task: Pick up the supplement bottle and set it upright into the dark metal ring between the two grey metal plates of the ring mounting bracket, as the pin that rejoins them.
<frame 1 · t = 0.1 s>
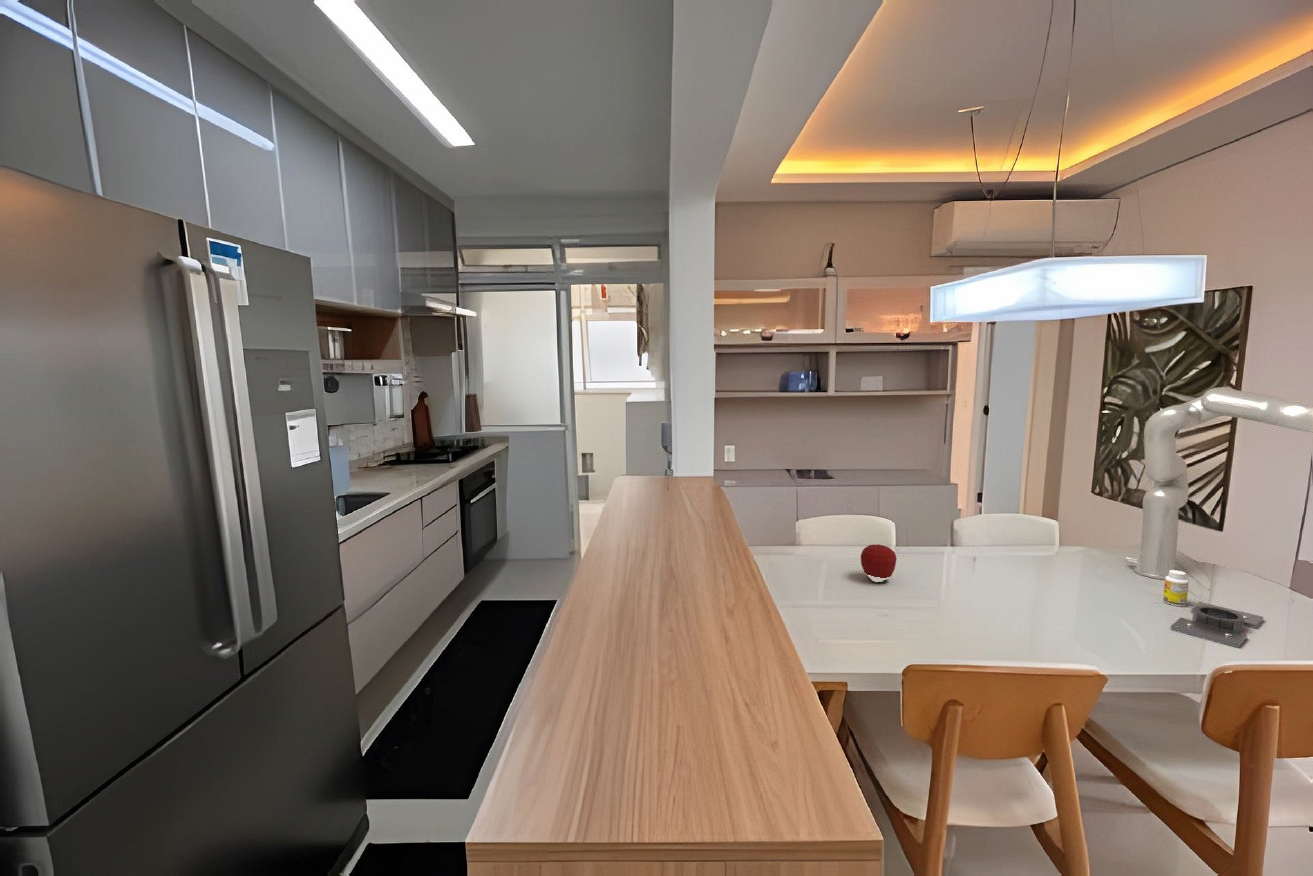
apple: (877, 581, 210), on the table
ring mounting bracket: (1217, 625, 171), on the table
supplement bottle: (1174, 604, 187), on the table
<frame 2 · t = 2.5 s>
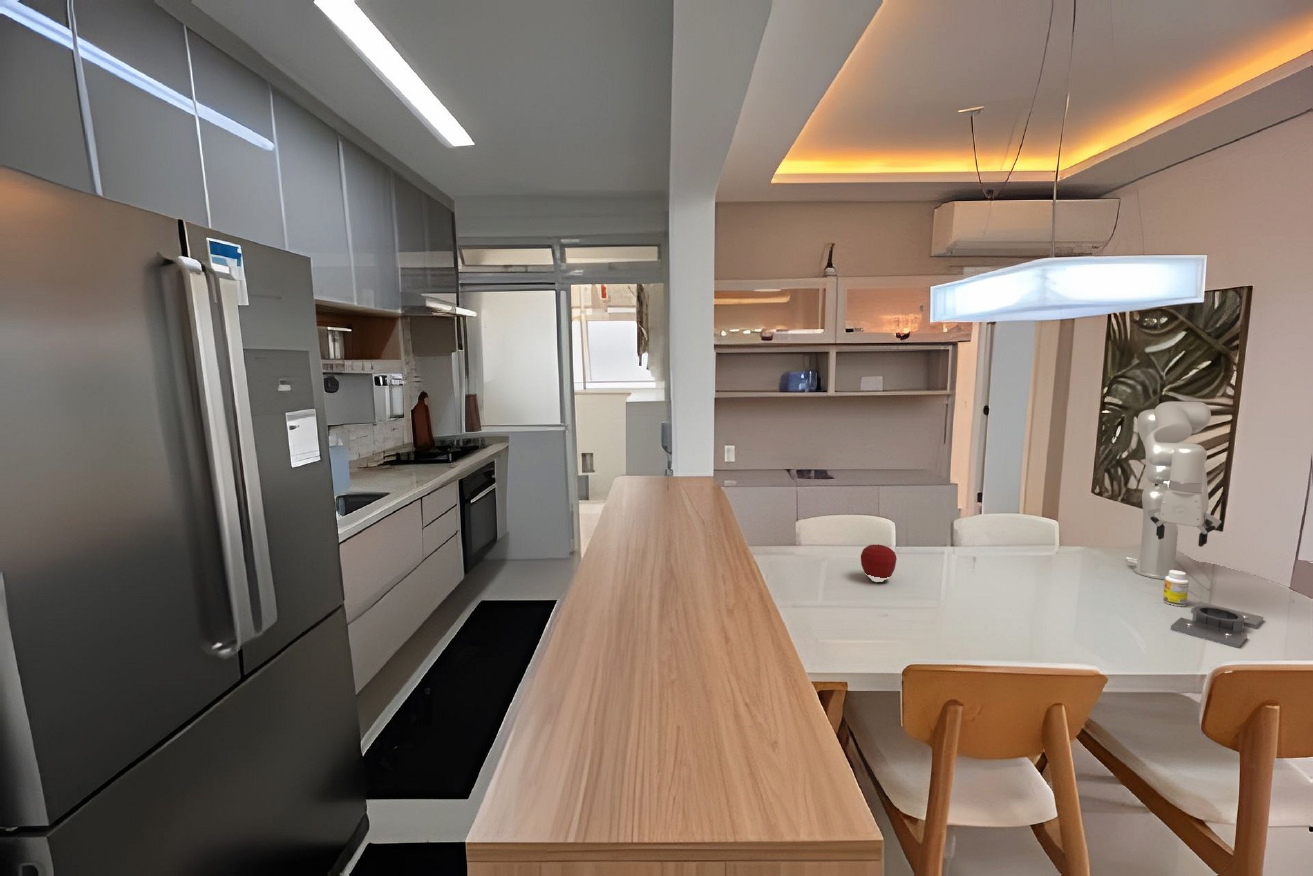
hand: (1180, 542, 184), 20 cm above the table, tool pointing down, fingers open, 9 cm apart
nothing on the table moved.
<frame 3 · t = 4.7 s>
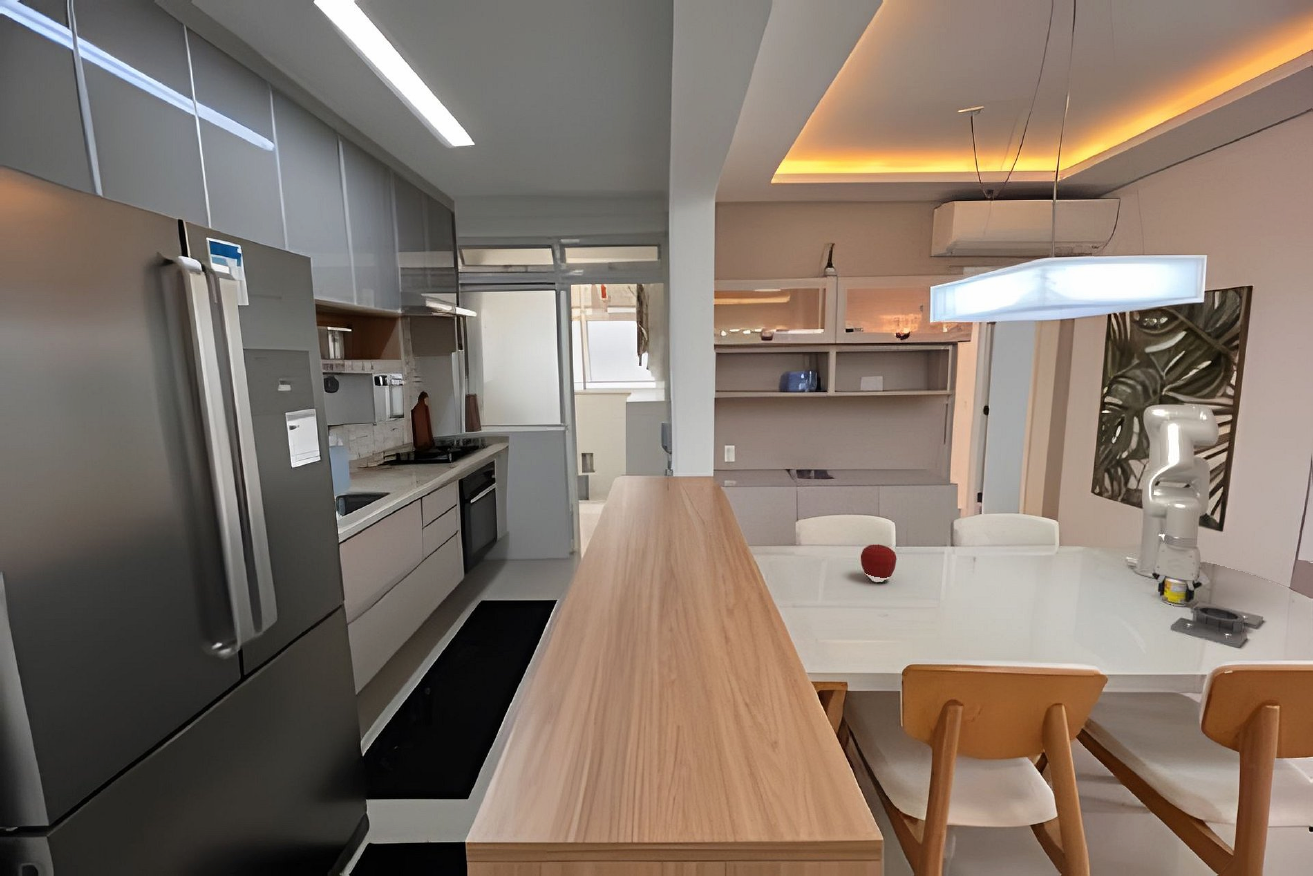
hand: (1175, 597, 187), 2 cm above the table, tool pointing down, fingers closed on supplement bottle, 5 cm apart
supplement bottle: (1174, 604, 187), on the table, touching gripper
everything else where it was.
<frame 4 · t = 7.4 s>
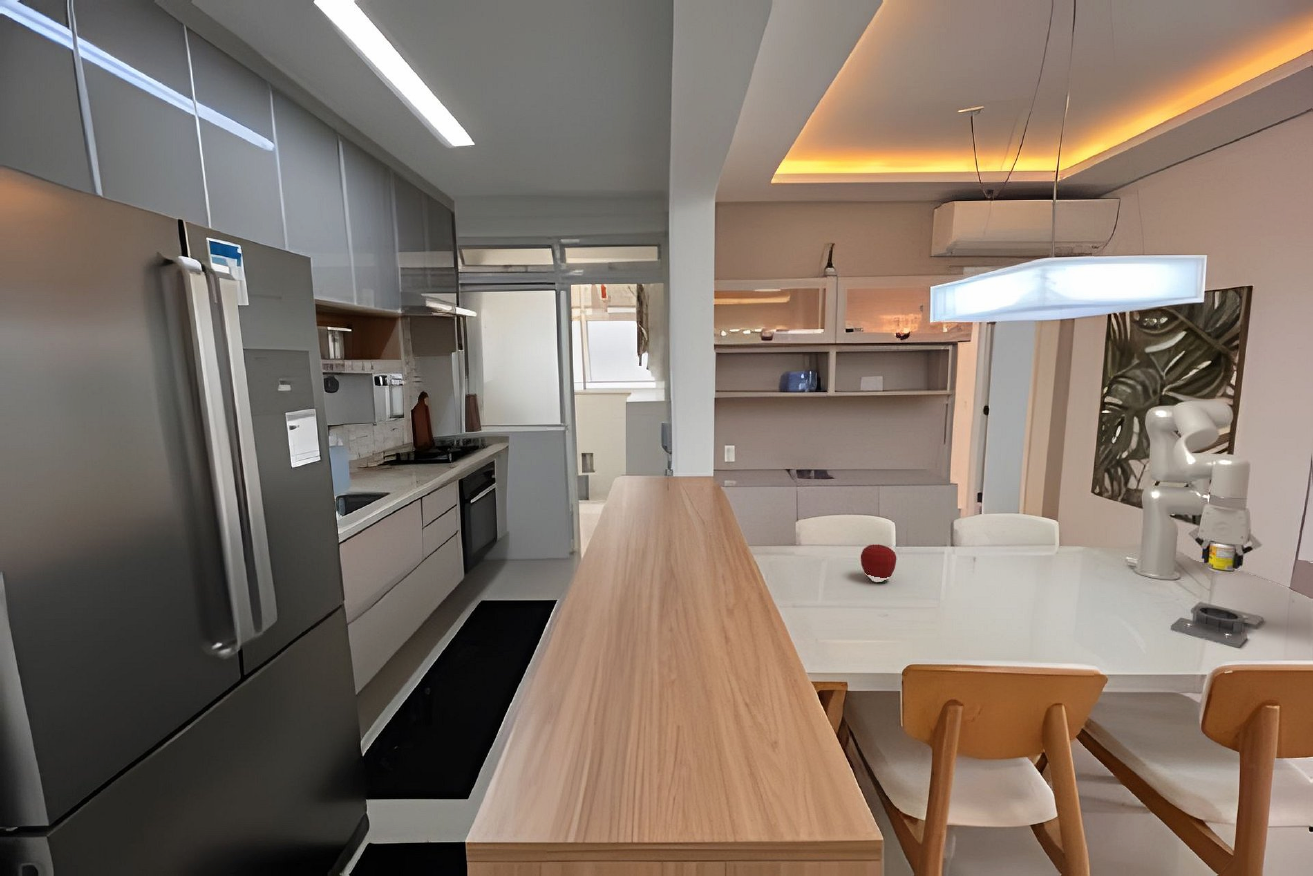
hand: (1221, 564, 170), 18 cm above the table, tool pointing down, fingers closed on supplement bottle, 5 cm apart
supplement bottle: (1220, 571, 170), point 16 cm above the table, touching gripper
everything else where it was.
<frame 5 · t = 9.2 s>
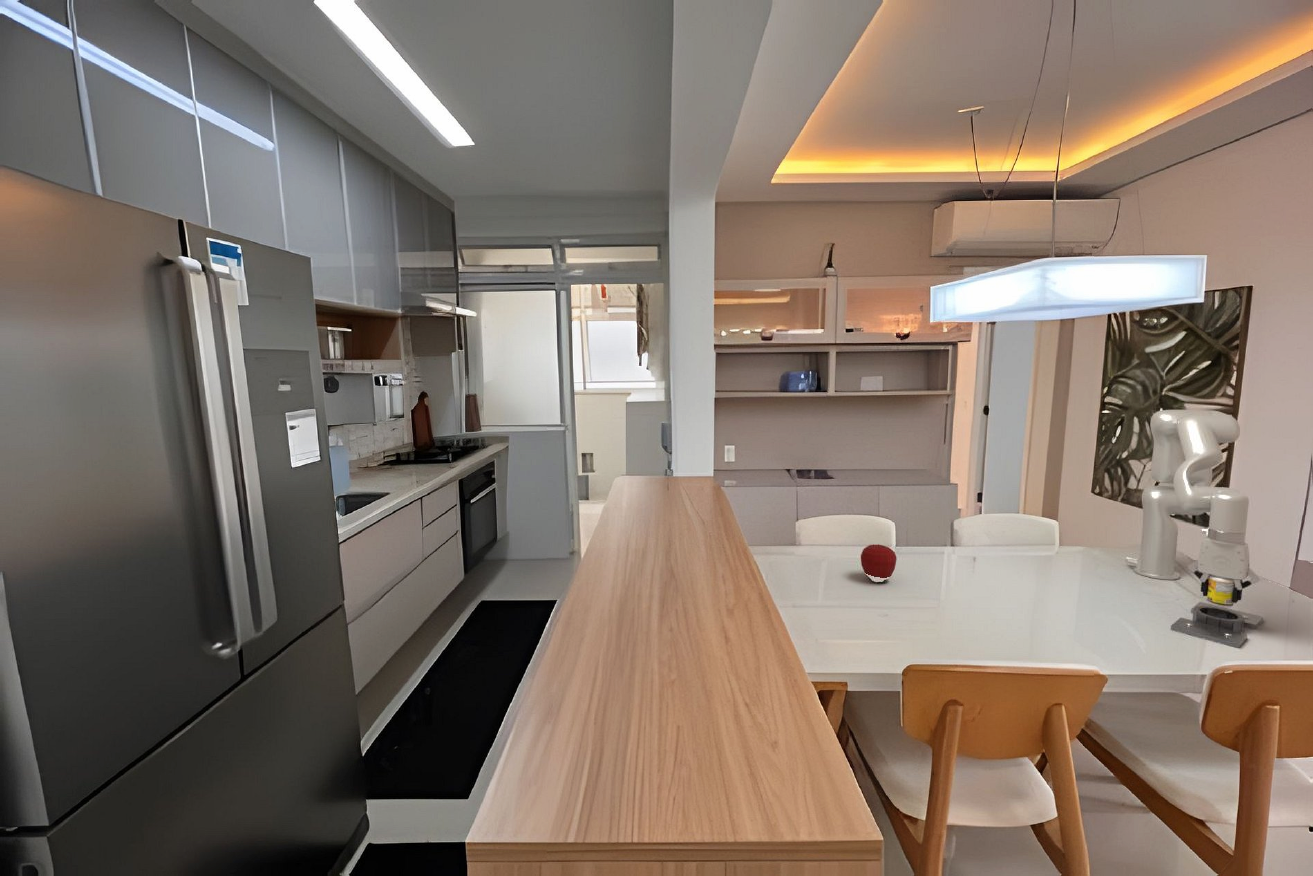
hand: (1220, 597, 170), 8 cm above the table, tool pointing down, fingers closed on supplement bottle, 5 cm apart
supplement bottle: (1219, 605, 171), point 6 cm above the table, touching gripper
everything else where it was.
when the fingers open (4 cm above the table, at t = 10.5 s): supplement bottle drops 2 cm, resting in ring mounting bracket.
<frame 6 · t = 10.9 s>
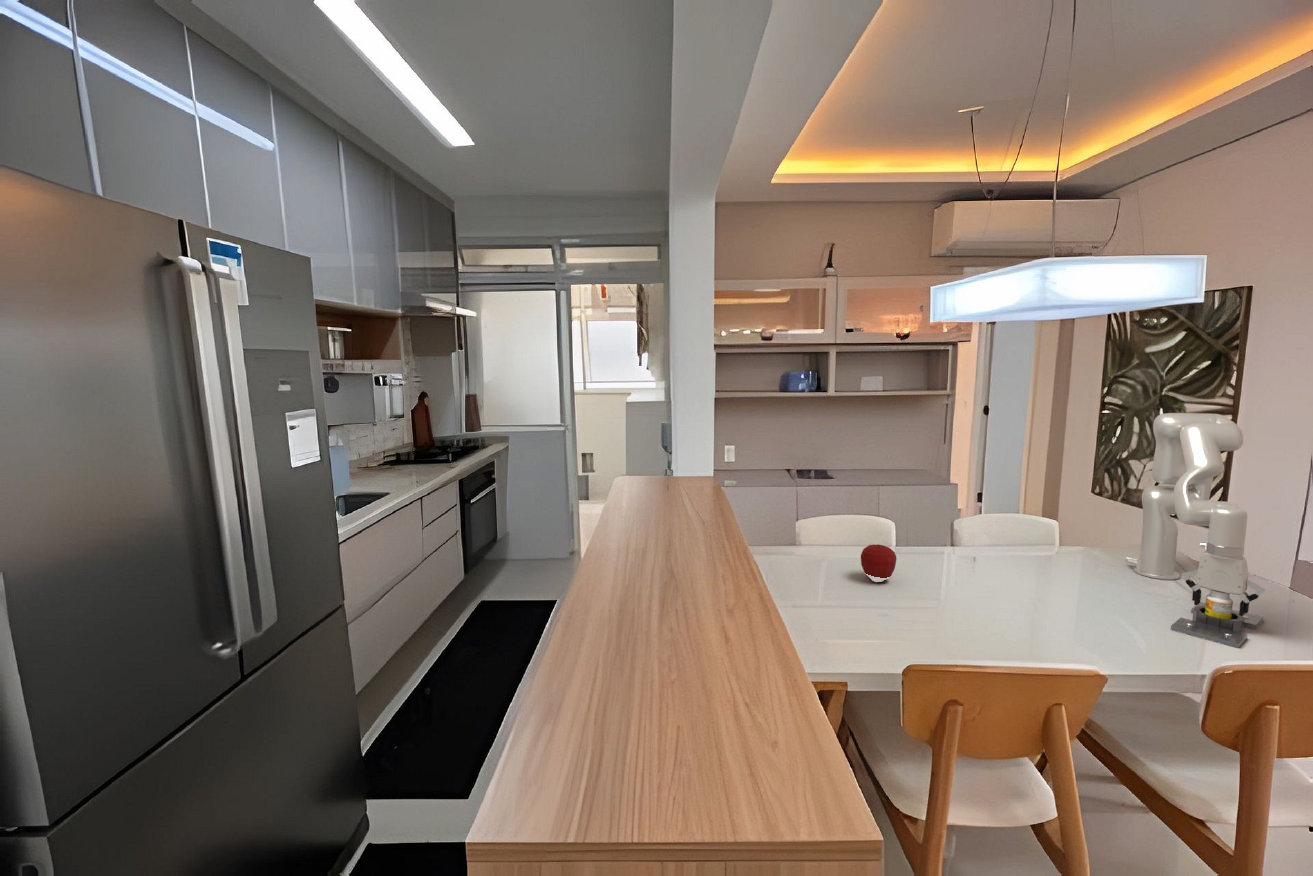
hand: (1219, 609, 171), 5 cm above the table, tool pointing down, fingers open, 9 cm apart
supplement bottle: (1216, 625, 172), resting in ring mounting bracket
everything else where it was.
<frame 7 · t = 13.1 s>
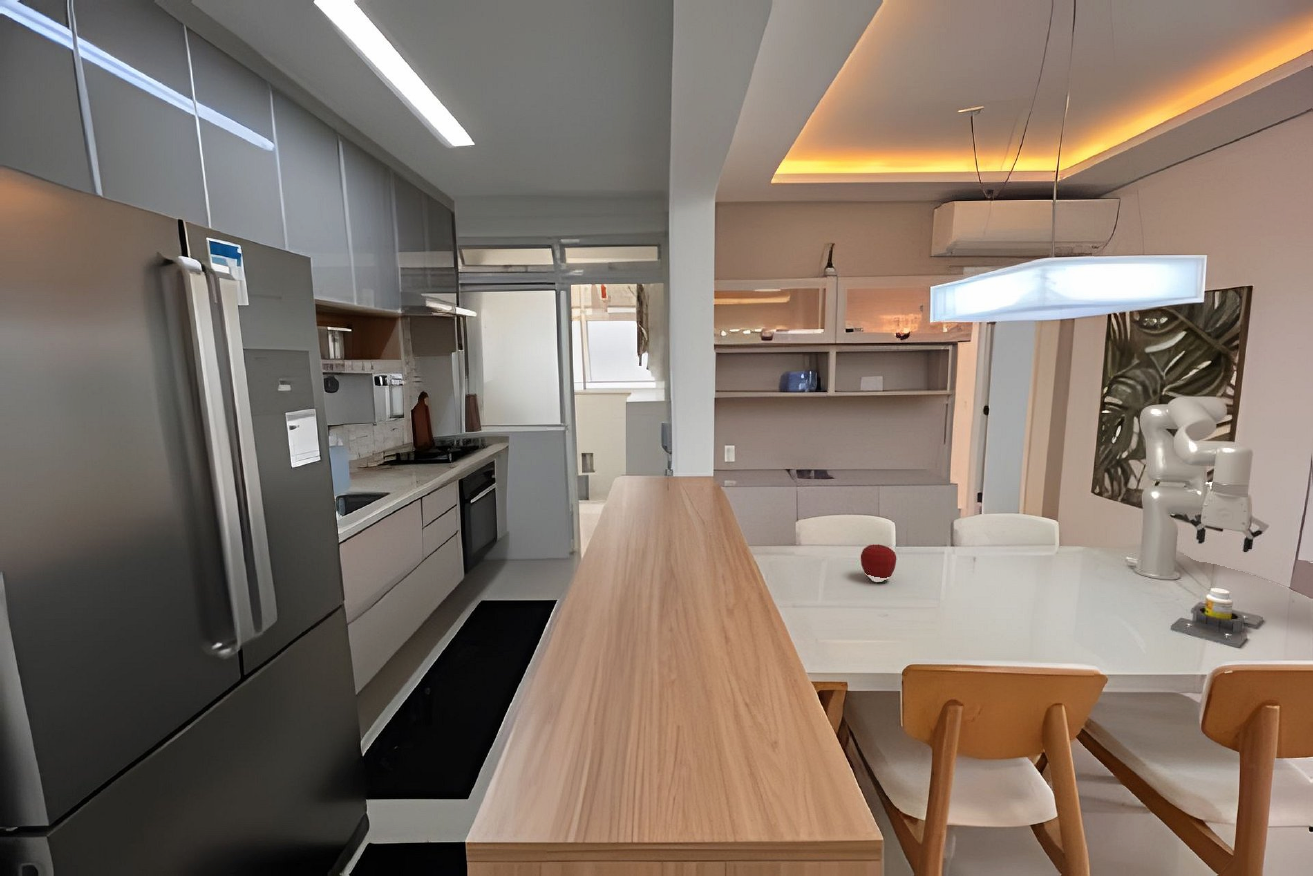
hand: (1223, 546, 173), 22 cm above the table, tool pointing down, fingers open, 9 cm apart
nothing on the table moved.
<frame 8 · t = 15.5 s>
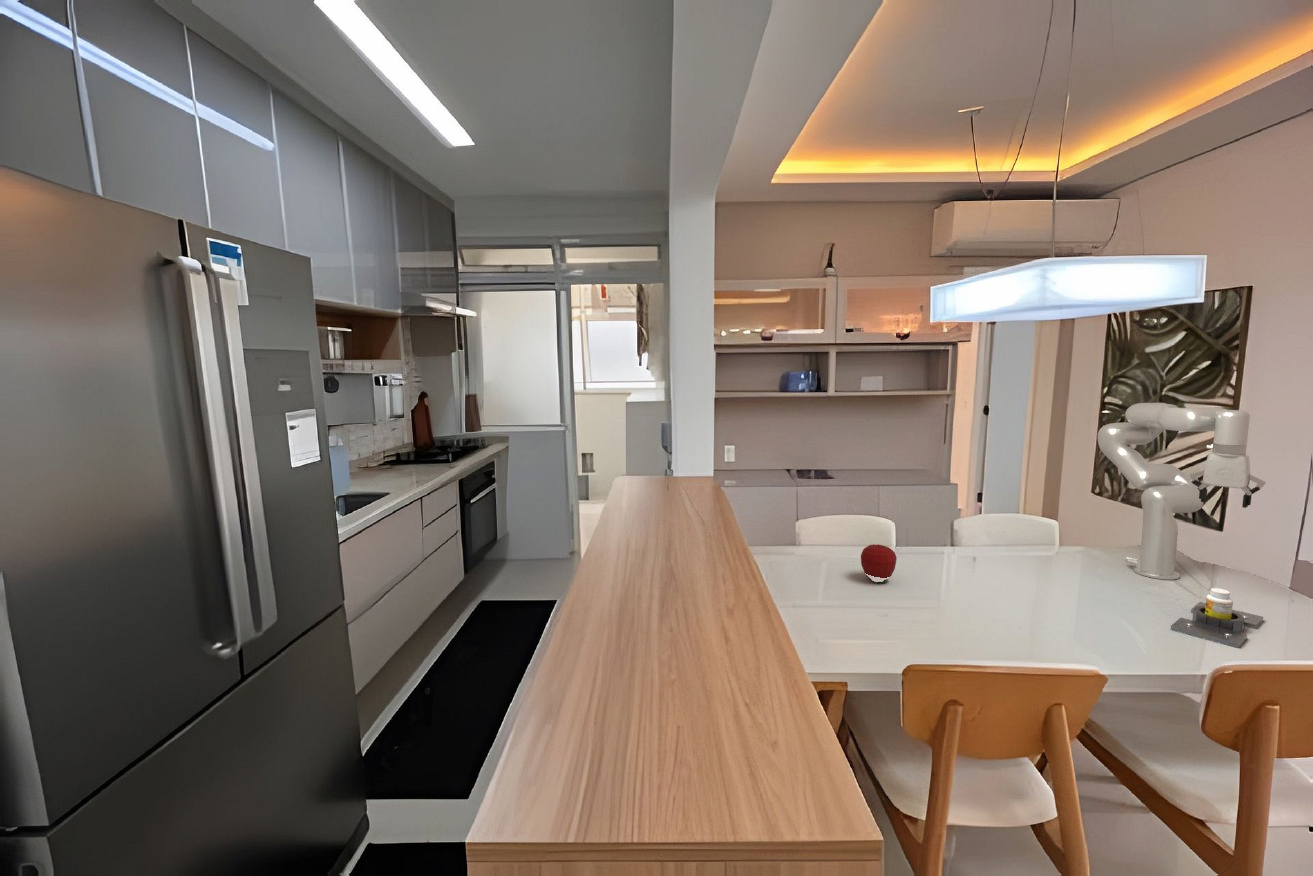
hand: (1223, 504, 188), 30 cm above the table, tool pointing down, fingers open, 9 cm apart
nothing on the table moved.
at the end: supplement bottle 0.2 cm from the ring mounting bracket (horizontally); supplement bottle tilted 0°; the gripper is holding nothing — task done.
